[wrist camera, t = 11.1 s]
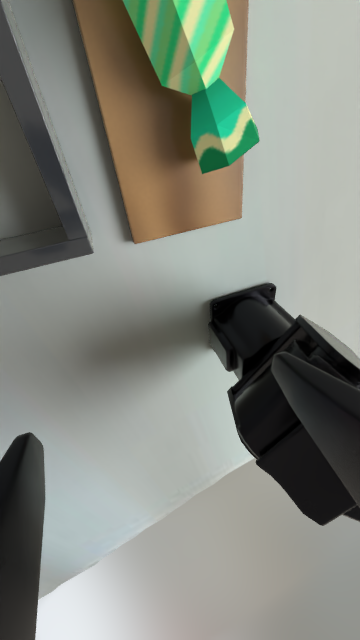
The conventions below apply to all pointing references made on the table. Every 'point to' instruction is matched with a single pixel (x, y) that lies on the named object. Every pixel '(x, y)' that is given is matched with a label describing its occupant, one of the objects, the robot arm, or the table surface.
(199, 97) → the candy
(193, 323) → the table surface
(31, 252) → the dark grey tray
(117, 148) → the brown wooden board
